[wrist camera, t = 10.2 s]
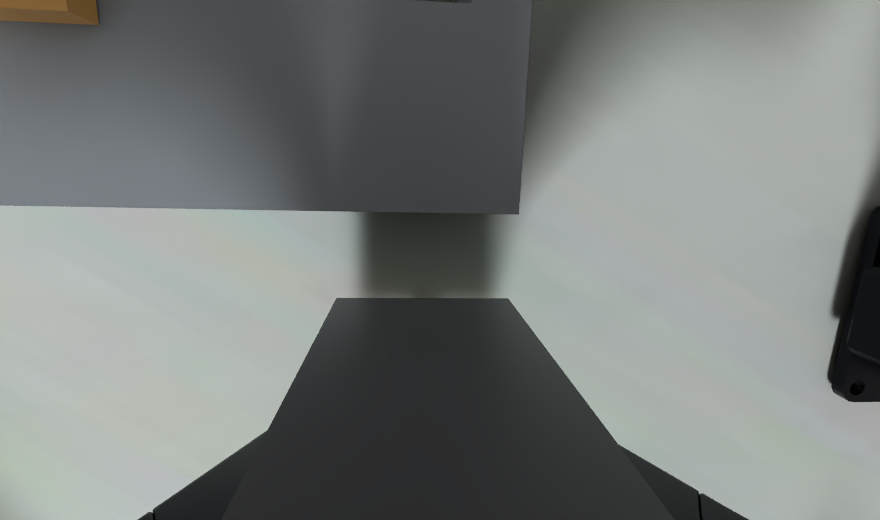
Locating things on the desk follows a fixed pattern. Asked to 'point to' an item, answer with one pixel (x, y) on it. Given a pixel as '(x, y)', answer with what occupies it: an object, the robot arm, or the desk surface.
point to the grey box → (437, 425)
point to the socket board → (269, 106)
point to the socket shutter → (50, 11)
